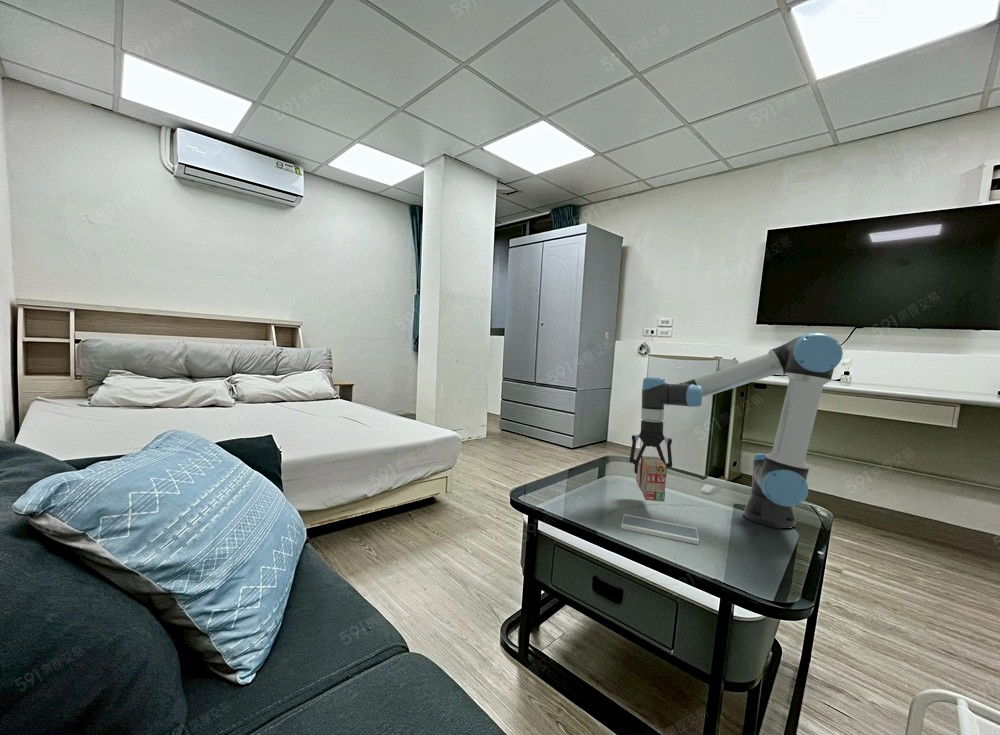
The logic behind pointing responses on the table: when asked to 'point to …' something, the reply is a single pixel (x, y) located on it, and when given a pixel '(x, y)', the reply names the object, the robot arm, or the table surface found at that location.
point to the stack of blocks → (652, 478)
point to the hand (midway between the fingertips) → (649, 484)
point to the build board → (660, 529)
